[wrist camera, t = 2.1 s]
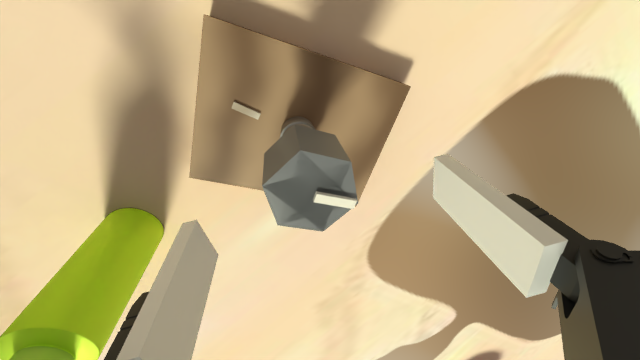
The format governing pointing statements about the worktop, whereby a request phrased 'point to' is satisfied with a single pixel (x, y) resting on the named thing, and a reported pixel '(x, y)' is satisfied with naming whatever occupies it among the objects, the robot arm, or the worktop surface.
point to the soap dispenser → (86, 292)
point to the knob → (308, 179)
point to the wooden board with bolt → (281, 104)
